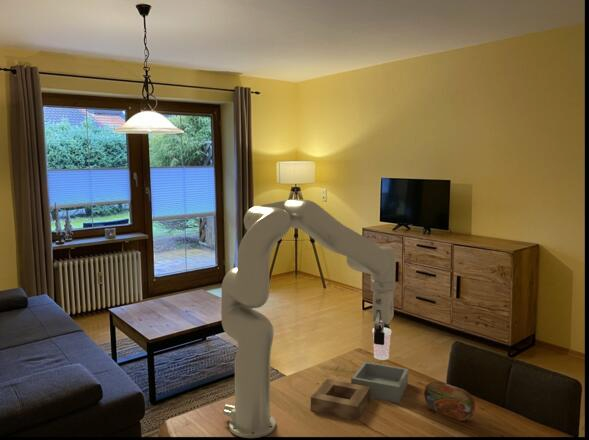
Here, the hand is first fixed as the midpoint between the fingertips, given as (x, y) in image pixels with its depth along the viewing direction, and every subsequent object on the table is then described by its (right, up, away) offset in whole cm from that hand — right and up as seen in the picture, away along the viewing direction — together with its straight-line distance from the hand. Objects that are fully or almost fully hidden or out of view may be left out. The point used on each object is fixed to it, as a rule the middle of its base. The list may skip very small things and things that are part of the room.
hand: (381, 340), depth 152 cm
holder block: (-14, -17, -10) cm, 24 cm away
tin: (+17, -18, -15) cm, 28 cm away
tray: (0, -16, +1) cm, 16 cm away
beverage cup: (0, -6, 0) cm, 6 cm away
